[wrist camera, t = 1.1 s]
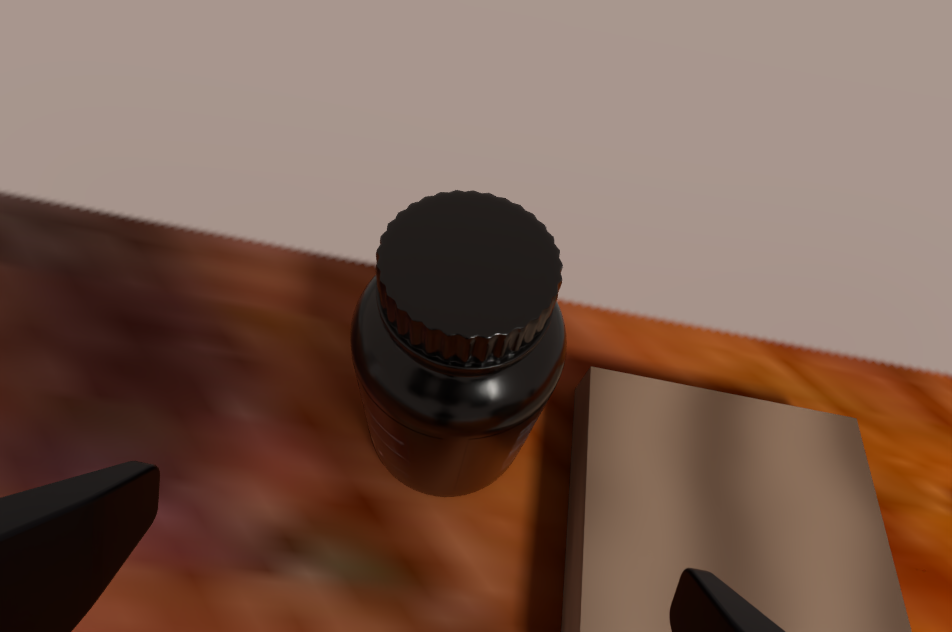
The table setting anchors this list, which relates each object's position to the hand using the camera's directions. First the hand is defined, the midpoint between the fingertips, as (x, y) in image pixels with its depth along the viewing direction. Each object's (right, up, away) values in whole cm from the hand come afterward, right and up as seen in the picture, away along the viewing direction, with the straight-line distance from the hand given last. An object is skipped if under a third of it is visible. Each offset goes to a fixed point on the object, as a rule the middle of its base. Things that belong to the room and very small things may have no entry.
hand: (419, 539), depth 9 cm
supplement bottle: (0, -1, +15) cm, 15 cm away
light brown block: (+11, -6, +13) cm, 18 cm away
